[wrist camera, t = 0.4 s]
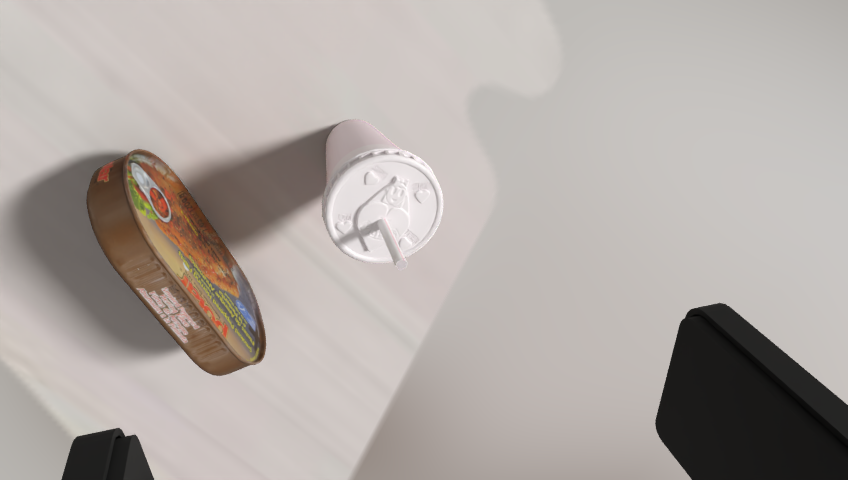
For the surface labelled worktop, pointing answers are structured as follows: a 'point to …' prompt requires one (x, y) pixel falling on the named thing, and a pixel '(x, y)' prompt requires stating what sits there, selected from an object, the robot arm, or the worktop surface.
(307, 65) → the worktop surface
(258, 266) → the worktop surface
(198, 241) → the tin
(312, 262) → the worktop surface
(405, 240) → the smoothie
